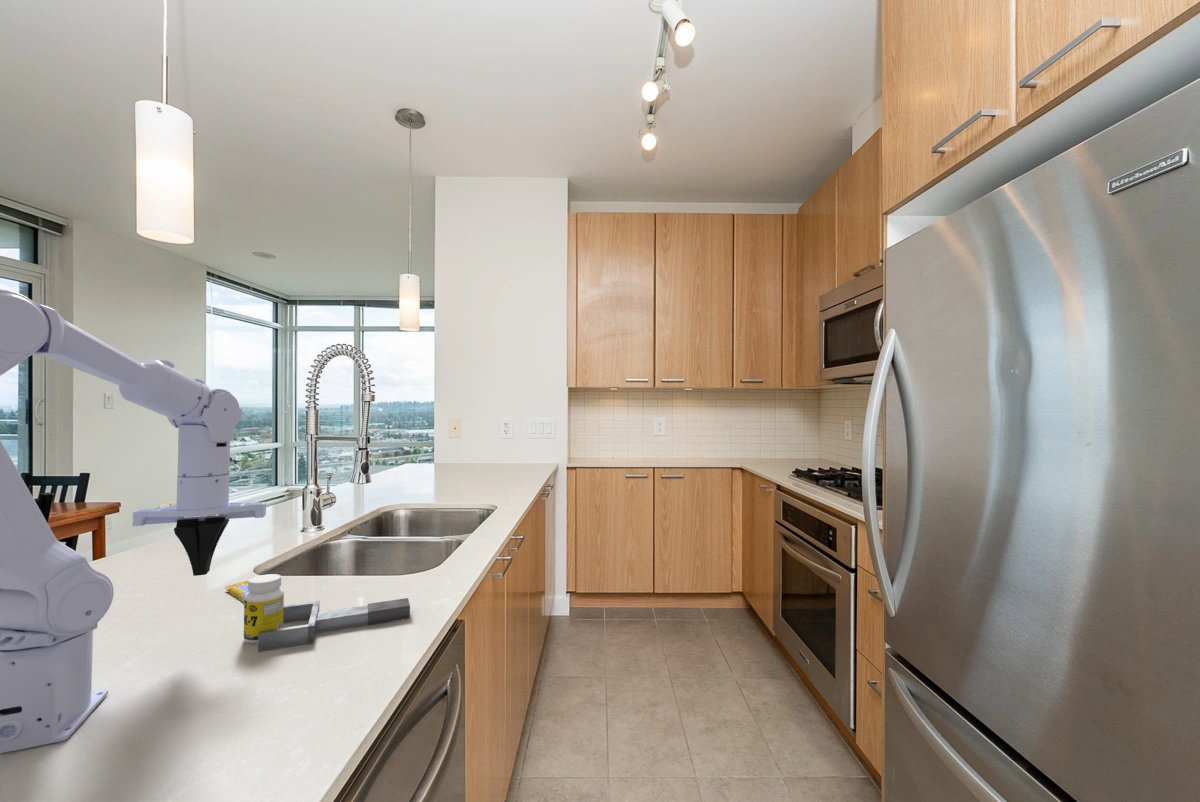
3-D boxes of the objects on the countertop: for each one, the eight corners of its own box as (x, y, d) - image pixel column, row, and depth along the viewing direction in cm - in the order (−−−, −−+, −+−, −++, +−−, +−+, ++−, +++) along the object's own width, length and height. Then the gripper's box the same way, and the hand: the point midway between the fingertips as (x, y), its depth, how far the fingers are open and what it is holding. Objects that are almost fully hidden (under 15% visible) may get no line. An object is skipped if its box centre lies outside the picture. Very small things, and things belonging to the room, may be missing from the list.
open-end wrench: (411, 626, 77) (412, 610, 77) (257, 651, 68) (258, 633, 68) (406, 603, 86) (406, 589, 86) (269, 623, 77) (270, 607, 78)
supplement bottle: (237, 639, 72) (238, 579, 72) (272, 627, 76) (274, 570, 76) (253, 647, 70) (254, 585, 70) (289, 634, 74) (290, 576, 74)
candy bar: (285, 610, 84) (285, 599, 84) (255, 618, 80) (255, 606, 80) (251, 587, 94) (251, 577, 94) (224, 594, 91) (224, 583, 91)
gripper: (270, 469, 77) (268, 559, 77) (148, 473, 71) (145, 571, 71) (261, 474, 71) (259, 572, 70) (126, 480, 65) (123, 587, 64)
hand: (201, 573), depth 70 cm, fingers closed
